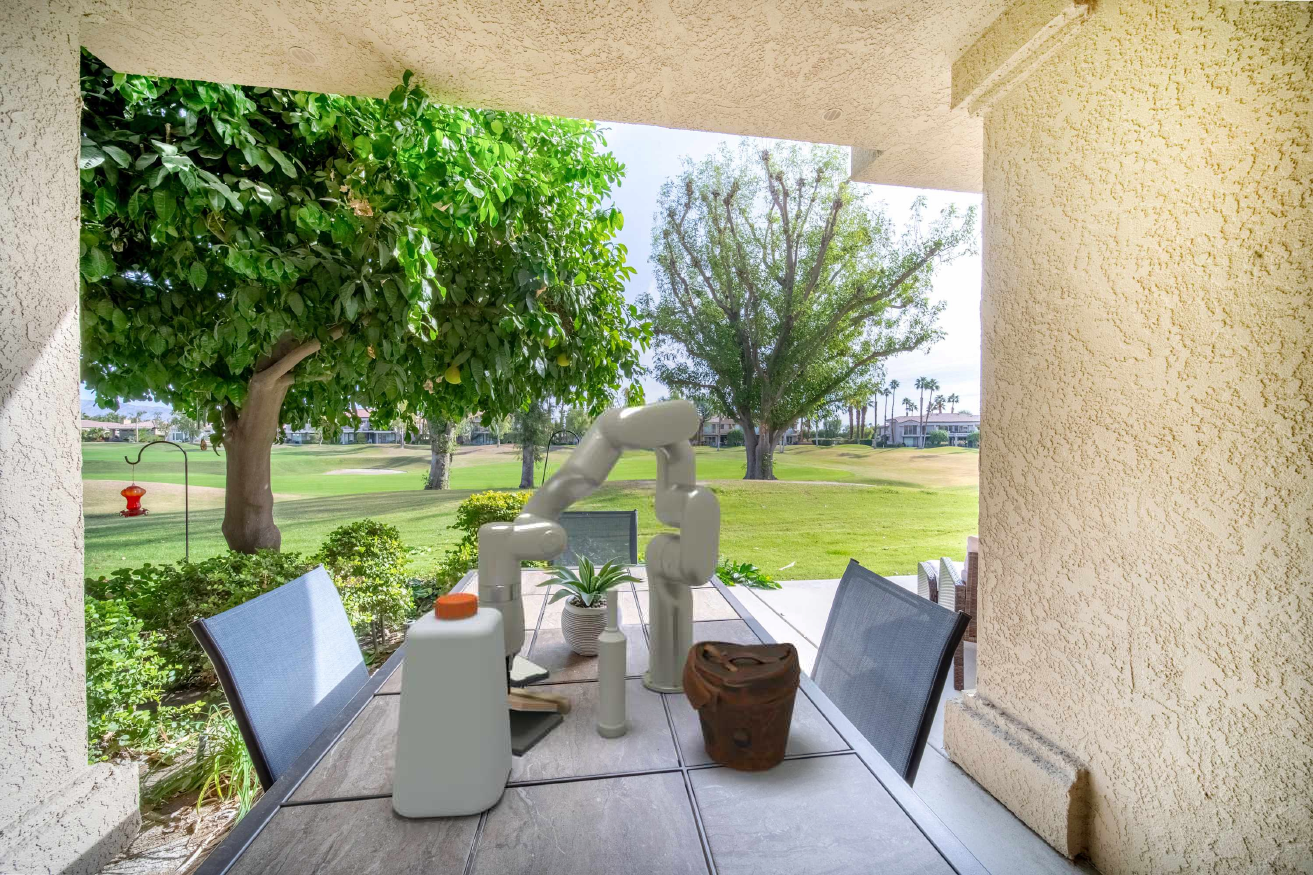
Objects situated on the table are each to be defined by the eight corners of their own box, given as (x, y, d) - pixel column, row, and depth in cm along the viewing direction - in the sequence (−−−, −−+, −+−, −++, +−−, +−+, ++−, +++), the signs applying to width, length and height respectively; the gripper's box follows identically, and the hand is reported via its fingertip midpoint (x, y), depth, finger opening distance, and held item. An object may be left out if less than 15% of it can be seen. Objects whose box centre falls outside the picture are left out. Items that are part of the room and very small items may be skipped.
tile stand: (571, 709, 109) (571, 698, 109) (561, 717, 106) (561, 705, 106) (502, 696, 115) (502, 685, 115) (491, 703, 112) (491, 691, 112)
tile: (496, 692, 112) (457, 689, 102) (557, 704, 107) (522, 702, 97) (495, 698, 111) (455, 696, 101) (556, 711, 106) (520, 710, 96)
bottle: (631, 726, 102) (630, 586, 103) (620, 740, 98) (619, 593, 98) (604, 722, 104) (604, 584, 105) (592, 735, 99) (592, 591, 100)
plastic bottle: (420, 762, 91) (421, 586, 92) (516, 758, 92) (516, 584, 93) (382, 824, 76) (383, 613, 77) (497, 818, 77) (497, 610, 78)
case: (664, 736, 99) (665, 632, 99) (763, 716, 106) (764, 620, 106) (712, 796, 82) (713, 672, 82) (825, 768, 90) (826, 654, 90)
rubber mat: (563, 720, 105) (563, 715, 105) (521, 756, 93) (521, 750, 93) (484, 704, 112) (484, 699, 112) (435, 735, 100) (435, 729, 100)
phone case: (481, 669, 131) (515, 690, 119) (481, 662, 131) (515, 682, 119) (516, 660, 137) (552, 678, 125) (516, 653, 137) (552, 671, 125)
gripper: (508, 580, 111) (509, 676, 110) (453, 600, 97) (454, 709, 97) (541, 584, 108) (542, 682, 107) (489, 604, 94) (489, 716, 94)
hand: (500, 694), depth 102 cm, fingers closed
